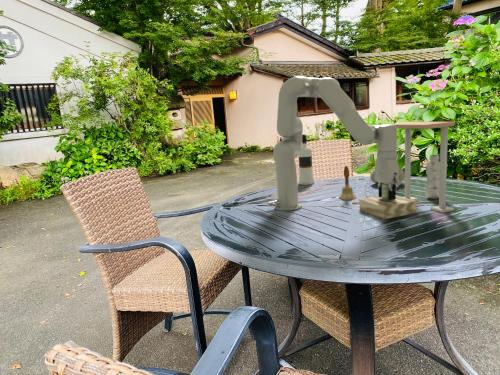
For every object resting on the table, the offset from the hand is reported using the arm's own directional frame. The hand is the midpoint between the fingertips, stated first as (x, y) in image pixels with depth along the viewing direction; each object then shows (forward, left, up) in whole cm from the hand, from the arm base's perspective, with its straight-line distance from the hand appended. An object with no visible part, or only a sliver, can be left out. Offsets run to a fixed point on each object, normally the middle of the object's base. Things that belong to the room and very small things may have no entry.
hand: (387, 197), depth 152 cm
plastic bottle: (+30, +6, -6) cm, 31 cm away
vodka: (0, +74, -6) cm, 74 cm away
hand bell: (0, +30, -6) cm, 31 cm away
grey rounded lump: (+34, +43, -6) cm, 55 cm away
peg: (0, 0, -5) cm, 5 cm away
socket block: (0, 0, -6) cm, 6 cm away
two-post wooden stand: (+15, 0, -6) cm, 16 cm away
